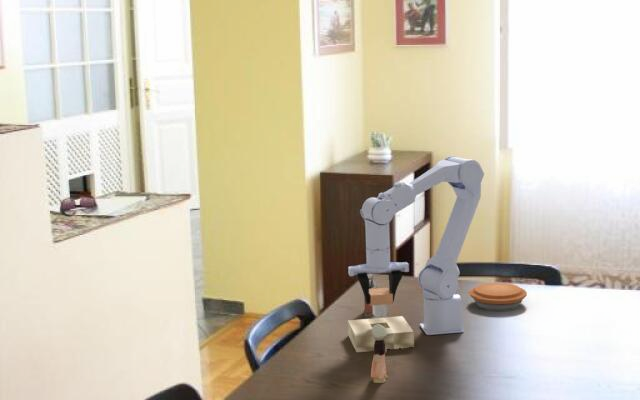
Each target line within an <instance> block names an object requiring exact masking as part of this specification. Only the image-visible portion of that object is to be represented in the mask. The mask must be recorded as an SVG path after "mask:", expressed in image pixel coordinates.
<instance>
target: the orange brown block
mask: <svg viewBox="0 0 640 400" xmlns="http://www.w3.org/2000/svg"><path fill="white" fill-rule="evenodd" d="M369 298H370V305H371V306H372V305H373V315H374V316H373V317H374V318H385V317H388V305H393V304H394V302H393V293H392V292H391V291H390V289H389V287H378V288H376V289H369Z"/></svg>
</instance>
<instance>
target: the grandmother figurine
mask: <svg viewBox="0 0 640 400" xmlns="http://www.w3.org/2000/svg"><path fill="white" fill-rule="evenodd" d="M372 333H373V334H372V336H373V338H374V339H375V344H374V351H373V352H374V353H373V359H372V363H371V371H370V377H371V378H373V380H372V381H373V383H374V384H385V383H386V382H387V380H386V379H388V375H387V367H386V366H387V365H386V353H387V350H386V347H385V342H384V340H383V338H384V337H385V336H386V335H387V331H386V329H385V327H384V326H382V325H380V324H376V325H374V326H373V328H372Z"/></svg>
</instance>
